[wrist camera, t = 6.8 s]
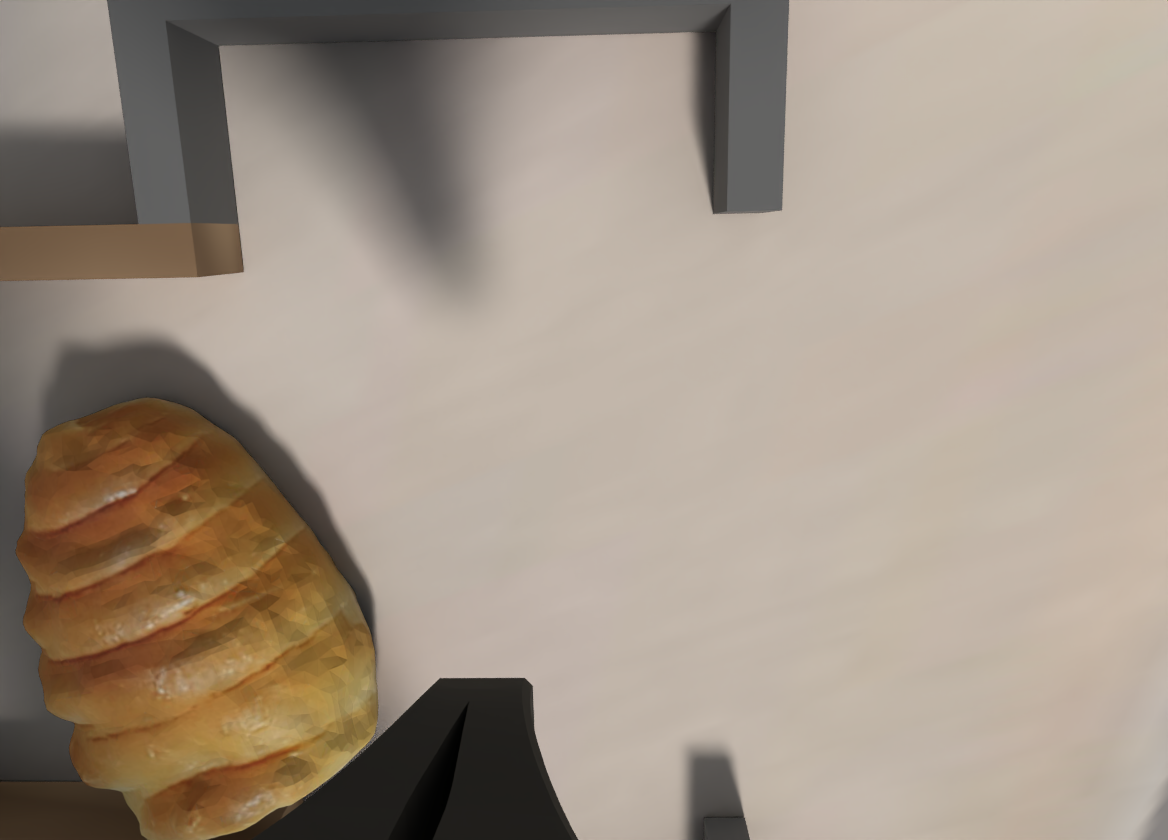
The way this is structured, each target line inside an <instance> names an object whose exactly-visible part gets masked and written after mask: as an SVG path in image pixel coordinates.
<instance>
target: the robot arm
mask: <svg viewBox="0 0 1168 840" xmlns="http://www.w3.org/2000/svg"><path fill="white" fill-rule="evenodd" d="M251 840H578V839H577V837H576V835H575V833H574V831H573V830H572V828H571V826H570V824H569V822H568V820H567V818H566V816H565V813H564V811H563V809H562V807H561V805H560V803H559V800H558V798H557V796H556V793H555V791H554V788H553V786H552V784H551V781H550V779H549V776H548V773H547V771H546V768H545V765H544V762H543V758H542V755H541V752H540V749H539V746H538V742H537V739H536V735H535V731H534V710H533V686H532V685H531V684H530V683H529V682H528V681H527V680H526V679H525V678H440V679H439V680H438V681H437V682H436V683H435V684H433V685H432V686H431V687H430V688H429V689H428V690H427V691H426V692H425V693H424V694H423V695H422V696H421V697H420V698H419V699H418V700H417V701H416V702H415V703H414V704H413V705H412V706H411V707H410V708H409V709H408V710H407V711H406V712H405V713H404V714H403V715H402V716H401V717H400V718H399V719H398V720H397V721H396V722H395V723H394V724H393V725H392V726H391V727H390V728H389V729H387V730H386V731H385V732H384V733H383V734H382V735H381V736H380V737H379V738H378V739H377V740H376V741H375V742H374V743H373V744H372V745H370V746H369V747H368V748H367V749H366V750H365V751H364V752H363V753H362V754H361V755H360V756H359V757H357V758H356V759H355V760H354V761H353V762H352V763H350V764H349V765H348V766H347V767H346V768H344V769H343V770H342V771H341V772H340V773H338V774H337V775H336V776H335V777H334V778H333V779H331V780H330V781H329V782H328V783H327V784H325V785H324V786H323V787H322V788H321V789H320V790H318V791H317V792H316V793H315V794H314V795H312V796H311V797H310V798H308V799H307V800H306V801H305V802H303V803H302V804H301V805H299V806H298V807H297V808H295V809H294V810H293V811H291V812H290V813H288V814H287V815H286V816H284V817H283V818H282V819H280V820H279V821H277V822H276V823H274V824H273V825H271V826H270V827H269V828H267V829H266V830H264V831H263V832H261V833H260V834H258V835H257V836H256V837H254V838H253V839H251Z"/></svg>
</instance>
